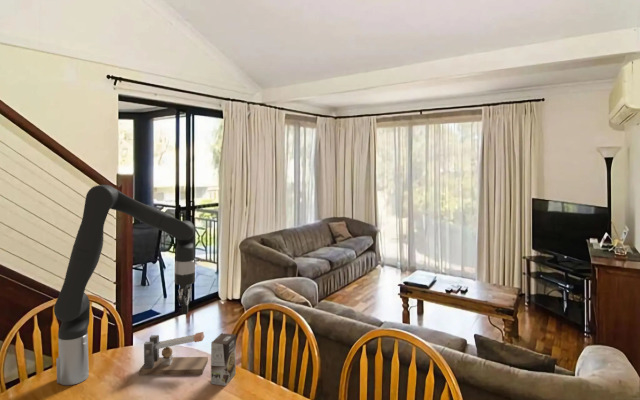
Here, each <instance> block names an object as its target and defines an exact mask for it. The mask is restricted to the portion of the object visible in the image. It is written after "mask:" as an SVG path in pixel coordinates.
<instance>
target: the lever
mask: <svg viewBox="0 0 640 400" xmlns="http://www.w3.org/2000/svg"><path fill="white" fill-rule="evenodd" d="M204 338H205V334H204V331H202V332H196V333H195V334H191V335H187V336H181V337H176V338H173V339H165V340H162V341H159V342H156V343H154V350H155V349H159V350H160V349H164V348H166V347H170V348H171V347H174V346H179V345H185V344H188V343H199V342H203V340H204Z"/></svg>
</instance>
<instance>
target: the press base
mask: <svg viewBox="0 0 640 400" xmlns="http://www.w3.org/2000/svg"><path fill="white" fill-rule="evenodd" d="M156 342H160V335H158V334H152V335H150V337H149V341H145V342H144V343H143V364H142V366H141V367H140V369H139V370H138V371H139V372H138V375H139V376H161V375H162V376H165V375H166V376H167V375H169V376H173V375H175V376H177V375H178V376H179V375H203V373H204V371H205V368H206V367H207V364H208V362H209V357H208V356H176V357H174V356H173V355H172V354H173V349H172V348H171V346H170V347H165V348H162V351H161V356H162V357H160V349H155V350H154V343H156Z"/></svg>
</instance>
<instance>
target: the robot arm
mask: <svg viewBox="0 0 640 400" xmlns="http://www.w3.org/2000/svg"><path fill="white" fill-rule="evenodd" d="M110 210H114V211H119V212H121V213H123V214H126V215H128V216H130V217H132V218H134V219H136V220H137V221H138V222H140V223H142V224H145V225H147V226H149V227H151V228H154V229H156V230H159V231H161V232H164V233H166V234H168V235H169V236H171V237H173V238H176V247H175V261H174V262H175V263H174V284H175V285H177V286H179V288H178V290H177V291H178V294H177V295H176V298H177V302H178V304H179V306H181V315H187V314H188V313H189V304H190V301H191V296H192V291H193V286H191V285H192V284H194V283H195V282H196V278H195V277H196V270H195V269H196V264H195V233H196V232H195V231H196V230H195V224H194V223H193V222H192V221H190V220H181V219H178V218H176V217H173V215H172V214H169V213H168V212H166V211H163V210H160V209H158V208H156V207H153V206H151V205H148V204H145V203H143V202H140V201H138V200H136V199H135V198H132V197H130V196H128V195H126V194H125V193H123V192H121V191H120V190H119V189H116V188H115V187H113V186H112V185H109V184H98V185H95V186H93V187H91V188H90V189H89V190H88V191H87V193H86V196H85V200H84V207H83V213H82V219H81V222H80V225H79V228H78V230H77V234H76V237H75V240H74V243H73V246H72V249H71V253H70V256H69V261H68V264H67V269H66V272H65V278H64V281H63V285H62V286H61V289H60V292H59V294H58V297H57V298H56V300H55V303H54V305H53V306H54V308H53V311H54V312H53V313H54V315H55V317H56V319H57V320H59V321H61V324H60V327H59V329H58V333H57V335H58V336H57V337H58V338H57V339H58V357H56V359H55V360H56V365H55V366H56V384H60V385H62V386H72V385H76V384H77V385H78V384H80V383H82V382H84V381H86V380H87V379H88V378H89V376H90V375H89V373H90V371H89V333H88V332H89V331H88V330H89V329H88V328H89V325H90V315H91V314H90V313H91V311H90V310H91V308H90V307H91V305H90V298H89V296H88V295H87V293H85V291H86V287H87V285H88V282H89V280H90V279H91V277H92V275H93V273H94V272H95V270H96V267H97V265H98V263H99V260H100V257H101V255H102V252H103V246H104V227H105V222H106V220H107V217H108V214H109V211H110Z"/></svg>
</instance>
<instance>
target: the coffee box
mask: <svg viewBox="0 0 640 400" xmlns="http://www.w3.org/2000/svg"><path fill="white" fill-rule="evenodd" d="M210 344H211V349H210V351H211V353H210V356H211V357H210V384H212V385H218V386H223V387H225V386H227V385H228V384H229V382H231V380H232V379H233V377H235V375H236V374H237V373H236V372H237V371H236V370H237V367H236V366H237V359H236V357H237V352H236V351H237V334H234V333H222V332H221V334H219V335H218V336H217V337H216V338H215V339H214V340H213V341H211V343H210Z"/></svg>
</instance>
